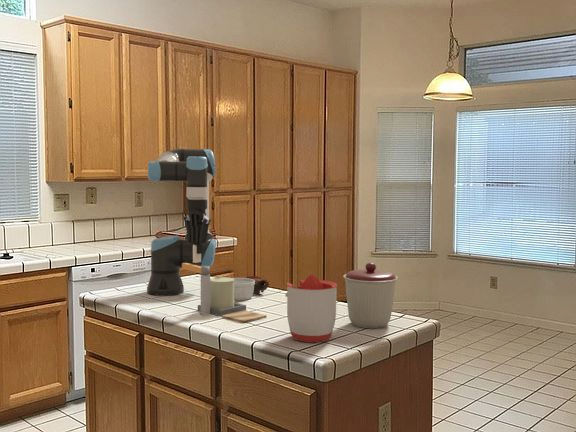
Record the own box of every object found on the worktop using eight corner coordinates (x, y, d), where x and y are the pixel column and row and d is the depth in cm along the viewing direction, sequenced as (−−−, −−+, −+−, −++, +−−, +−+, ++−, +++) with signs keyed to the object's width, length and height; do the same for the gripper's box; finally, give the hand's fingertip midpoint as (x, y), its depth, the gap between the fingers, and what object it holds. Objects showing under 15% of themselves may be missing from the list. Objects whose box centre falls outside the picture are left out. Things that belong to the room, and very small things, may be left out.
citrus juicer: (303, 327, 202) (304, 267, 200) (346, 337, 191) (347, 273, 189) (271, 337, 190) (271, 273, 189) (315, 348, 179) (316, 280, 177)
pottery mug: (238, 296, 253) (238, 277, 257) (248, 302, 261) (248, 283, 265) (265, 290, 249) (264, 271, 253) (274, 297, 257) (273, 278, 261)
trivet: (221, 317, 214) (221, 315, 214) (244, 312, 222) (244, 310, 222) (244, 323, 207) (244, 320, 207) (266, 317, 215) (266, 315, 215)
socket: (191, 311, 222) (191, 273, 221) (222, 305, 234) (222, 268, 233) (214, 317, 214) (214, 277, 213) (246, 310, 226) (246, 272, 225)
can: (223, 306, 232) (224, 275, 231) (239, 310, 225) (239, 278, 224) (204, 310, 225) (204, 277, 224) (219, 314, 219) (219, 281, 218)
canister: (331, 325, 206) (332, 262, 204) (361, 315, 219) (362, 257, 218) (378, 335, 194) (379, 269, 192) (406, 324, 208) (408, 262, 206)
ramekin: (239, 302, 239) (239, 285, 238) (214, 298, 247) (214, 281, 246) (261, 297, 249) (261, 280, 249) (237, 293, 257) (237, 276, 257)
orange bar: (203, 274, 216) (204, 267, 216) (180, 268, 229) (180, 262, 228) (211, 274, 218) (211, 267, 218) (187, 267, 230) (187, 261, 230)
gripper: (216, 199, 224) (216, 263, 226) (193, 197, 233) (193, 259, 235) (200, 199, 218) (200, 265, 220) (177, 198, 227) (177, 261, 229)
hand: (197, 262), depth 228 cm, fingers closed
